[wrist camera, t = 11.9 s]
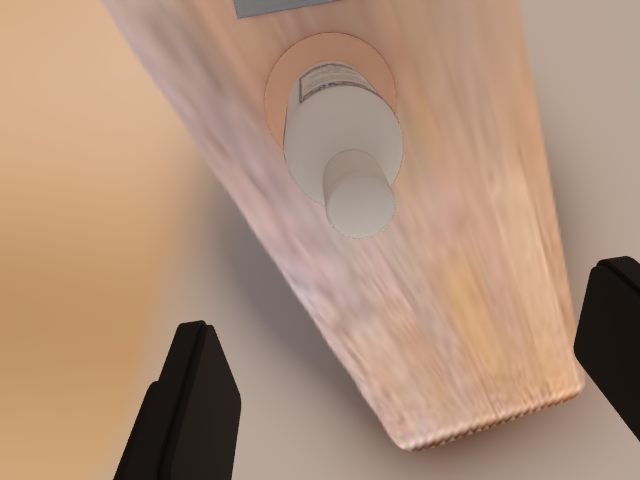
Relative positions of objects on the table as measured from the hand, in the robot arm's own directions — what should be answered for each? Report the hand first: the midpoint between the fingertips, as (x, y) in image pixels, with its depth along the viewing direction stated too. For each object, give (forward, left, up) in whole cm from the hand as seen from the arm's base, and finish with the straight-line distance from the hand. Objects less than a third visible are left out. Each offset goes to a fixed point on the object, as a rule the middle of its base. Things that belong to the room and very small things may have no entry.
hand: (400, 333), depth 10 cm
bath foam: (0, 0, -28) cm, 28 cm away
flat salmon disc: (0, 0, -28) cm, 28 cm away
